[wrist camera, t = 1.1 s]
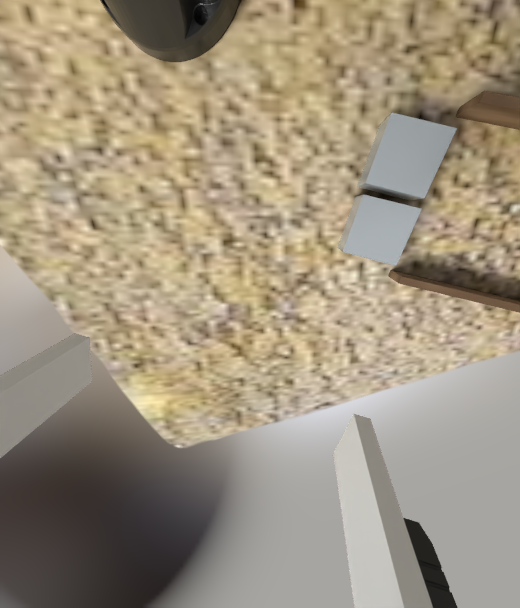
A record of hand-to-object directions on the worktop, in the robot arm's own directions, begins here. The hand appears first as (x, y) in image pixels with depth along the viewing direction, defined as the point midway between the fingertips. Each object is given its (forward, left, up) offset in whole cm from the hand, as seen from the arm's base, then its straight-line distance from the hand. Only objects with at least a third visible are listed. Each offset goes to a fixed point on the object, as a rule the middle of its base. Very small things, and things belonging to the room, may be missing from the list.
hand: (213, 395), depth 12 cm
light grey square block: (-16, +11, -23) cm, 30 cm away
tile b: (-9, +11, -23) cm, 27 cm away
